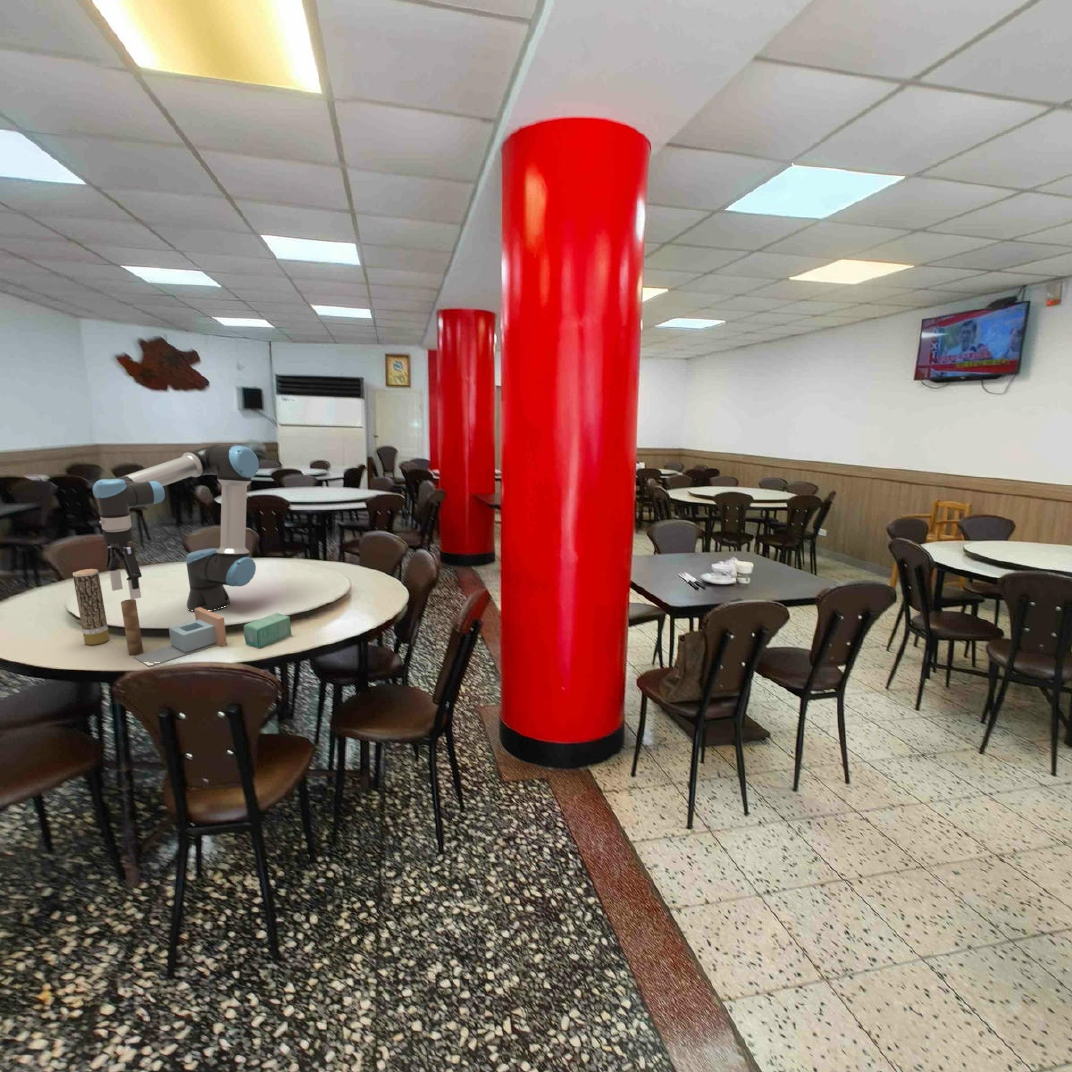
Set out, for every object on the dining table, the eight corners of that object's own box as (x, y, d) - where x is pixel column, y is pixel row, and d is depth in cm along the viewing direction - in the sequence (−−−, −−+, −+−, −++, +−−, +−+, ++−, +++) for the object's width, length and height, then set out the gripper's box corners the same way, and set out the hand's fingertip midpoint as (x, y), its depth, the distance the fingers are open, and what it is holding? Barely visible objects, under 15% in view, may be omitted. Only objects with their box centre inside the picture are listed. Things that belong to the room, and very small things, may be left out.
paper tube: (114, 637, 202) (103, 569, 196) (100, 645, 195) (88, 575, 190) (94, 637, 202) (82, 568, 196) (79, 645, 195) (67, 575, 189)
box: (244, 644, 199) (242, 624, 197) (278, 631, 211) (276, 612, 209) (258, 649, 196) (256, 628, 194) (291, 635, 207) (290, 616, 206)
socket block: (201, 635, 204) (199, 619, 202) (216, 642, 198) (214, 626, 197) (171, 644, 196) (168, 628, 194) (185, 652, 190) (183, 635, 189)
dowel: (140, 649, 194) (132, 598, 189) (145, 652, 191) (138, 601, 187) (126, 653, 190) (118, 601, 186) (132, 656, 188) (123, 604, 184)
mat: (206, 635, 206) (206, 634, 206) (223, 642, 200) (223, 641, 200) (134, 657, 187) (133, 656, 187) (149, 667, 181) (149, 666, 181)
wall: (203, 633, 207) (200, 607, 205) (226, 644, 198) (223, 617, 196) (197, 635, 206) (194, 608, 203) (221, 646, 197) (217, 619, 194)
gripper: (87, 525, 185) (97, 589, 190) (120, 537, 171) (130, 605, 176) (114, 522, 191) (123, 583, 196) (148, 533, 177) (157, 598, 182)
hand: (126, 594), depth 186 cm, fingers open, 13 cm apart
